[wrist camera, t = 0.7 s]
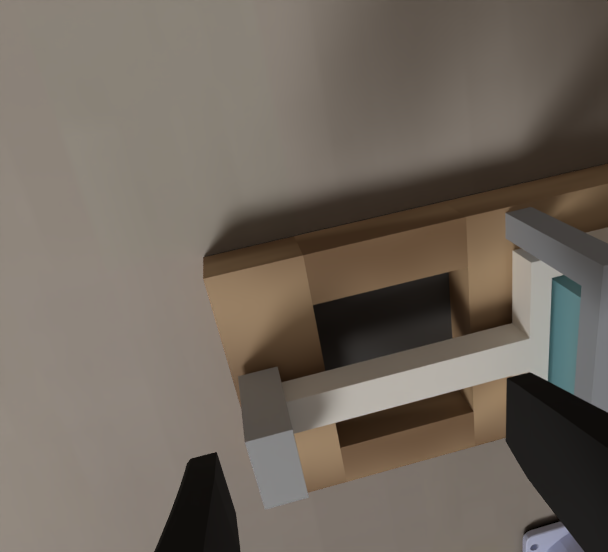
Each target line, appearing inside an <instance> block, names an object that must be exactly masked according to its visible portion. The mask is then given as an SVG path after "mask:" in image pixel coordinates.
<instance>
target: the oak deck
mask: <svg viewBox="0 0 608 552" xmlns="http://www.w3.org/2000/svg"><path fill="white" fill-rule="evenodd" d="M528 207H533V208H535V209H537V210H539V211H541V212H543V213H545V214H547V215H549V216H551V217H553V218H556V219H558V220H560V221H562V222H564V223H566V224H568V225H570V226H572V227H574V228H576V229H578V230H581V231H583V232H585V233H586V232H590V231H594V230H599V229H603V228H607V227H608V164H604V165H599V166H595V167H591V168H586V169H582V170H578V171H573V172H569V173H565V174H560V175H556V176H552V177H548V178H543V179H539V180H535V181H530V182H526V183H522V184H517V185H513V186H509V187H504V188H500V189H496V190H491V191H487V192H483V193H479V194H474V195H470V196H466V197H461V198H457V199H453V200H448V201H444V202H440V203H435V204H431V205H427V206H422V207H418V208H414V209H409V210H405V211H401V212H397V213H392V214H388V215H384V216H379V217H375V218H371V219H366V220H362V221H358V222H353V223H349V224H345V225H340V226H336V227H332V228H328V229H323V230H319V231H315V232H310V233H306V234H302V235H297V236H293V237H289V238H284V239H280V240H276V241H271V242H267V243H263V244H259V245H254V246H250V247H246V248H241V249H237V250H233V251H228V252H224V253H220V254H215V255H211V256H207V257H203V279H204V283H205V286H206V290H207V293H208V296H209V300H210V303H211V307H212V310H213V313H214V317H215V320H216V324H217V327H218V331H219V334H220V337H221V341H222V344H223V348H224V351H225V355H226V358H227V361H228V365H229V368H230V372H231V375H232V378H233V382H234V385H235V389H236V392H237V396H238V399H239V402H240V406H241V400H240V390H239V381H238V376H242V375H246V374H249V373H253V372H257V371H261V370H265V369H269V368H273V367H277V366H278V370H279V374H280V378H281V382H285V381H289V380H293V379H297V378H301V377H304V376H308V375H312V374H316V373H320V372H324V371H328V370H332V369H336V368H339V367H343V366H347V365H351V364H355V363H359V362H363V361H367V360H371V359H374V358H378V357H382V356H386V355H390V354H394V353H398V352H402V351H406V350H409V349H413V348H417V347H421V346H425V345H429V344H433V343H437V342H441V341H444V340H448V339H452V338H456V337H460V336H464V335H468V334H472V333H476V332H479V331H483V330H487V329H491V328H495V327H499V326H503V325H507V324H511V323H512V250H517V249H521V248H520V247H519V246H517V245H515V244H514V243H512V242H511V241H509V240H507V239H506V228H505V213H507V212H512V211H516V210H520V209H524V208H528ZM509 377H512V376H509ZM509 377H505V378H501V379H498V380H494V381H490V382H486V383H483V384H479V385H475V386H471V387H468V388H464V389H460V390H456V391H453V392H449V393H445V394H441V395H438V396H434V397H430V398H426V399H423V400H419V401H415V402H411V403H408V404H404V405H400V406H396V407H393V408H389V409H385V410H381V411H378V412H374V413H370V414H366V415H363V416H359V417H355V418H351V419H348V420H344V421H340V422H336V423H333V424H329V425H325V426H321V427H318V428H314V429H310V430H306V431H303V432H299V433H295V434H294V437H295V441H296V445H297V449H298V454H299V458H300V462H301V466H302V471H303V475H304V479H305V484H306V488H307V492H312V491H315V490H319V489H323V488H326V487H330V486H333V485H337V484H341V483H344V482H348V481H351V480H355V479H358V478H362V477H366V476H369V475H373V474H376V473H380V472H384V471H387V470H391V469H394V468H398V467H402V466H405V465H409V464H412V463H416V462H420V461H423V460H427V459H430V458H434V457H438V456H441V455H445V454H448V453H452V452H456V451H459V450H463V449H466V448H470V447H474V446H477V445H481V444H484V443H488V442H492V441H495V440H499V439H502V438H506V387H507V378H509Z"/></svg>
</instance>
